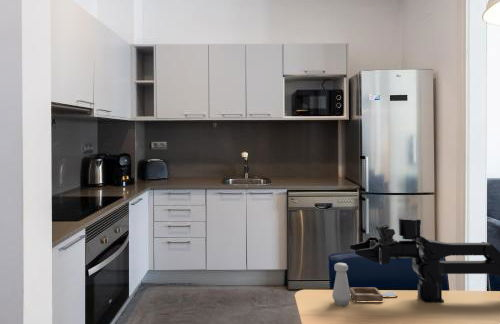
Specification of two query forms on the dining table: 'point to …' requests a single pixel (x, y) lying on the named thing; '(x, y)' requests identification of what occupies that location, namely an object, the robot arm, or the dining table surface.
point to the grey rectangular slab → (389, 294)
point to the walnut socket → (366, 294)
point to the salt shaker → (341, 285)
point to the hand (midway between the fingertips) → (352, 249)
